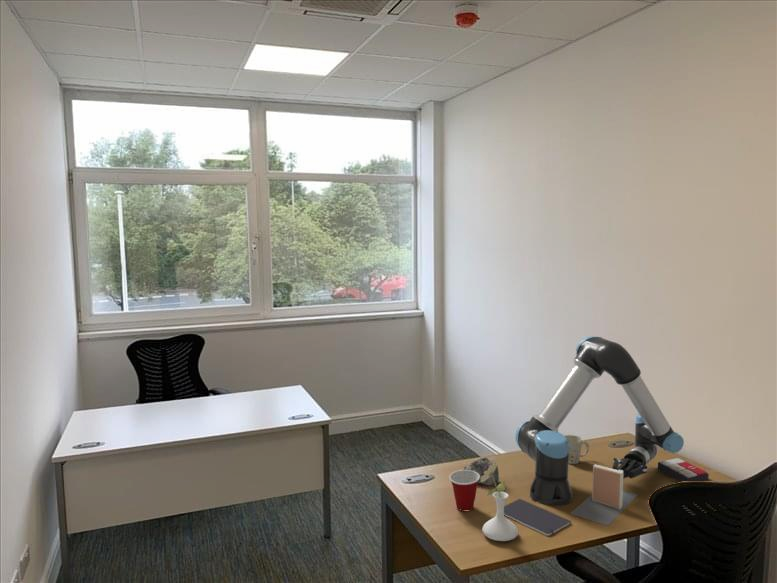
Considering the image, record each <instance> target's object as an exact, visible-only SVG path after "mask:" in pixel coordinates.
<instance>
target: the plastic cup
mask: <svg viewBox="0 0 777 583" xmlns="http://www.w3.org/2000/svg"><path fill="white" fill-rule="evenodd" d="M448 478H449V480H450V482H451V485H452V490H453V495H454V499H455V504H456V505H455V506H456V508H457V510H459V509H461V510H471V509H472V508H473V509H474V505H475V504H474V503H475V500H476V495H477V489H478V488H477V487H478V484H479V483H478V481H479V478H480V475H479V474H478V473H477V472H475V471H471V470H464V469H461V470H455V471H452V472H451V474H449V477H448ZM473 509H472V510H473ZM461 510H460V511H461ZM472 510H471V511H472Z"/></svg>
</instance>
